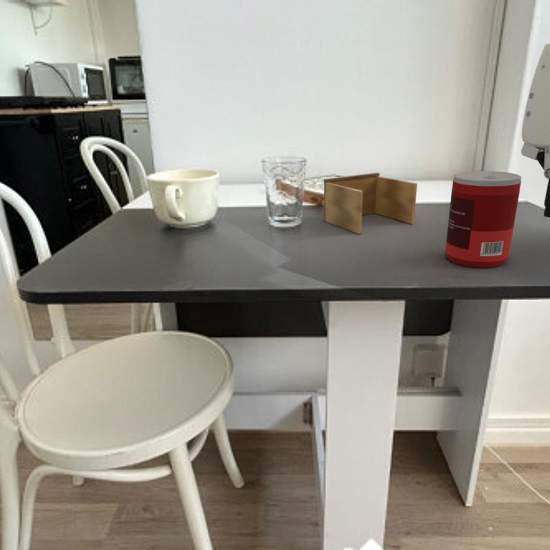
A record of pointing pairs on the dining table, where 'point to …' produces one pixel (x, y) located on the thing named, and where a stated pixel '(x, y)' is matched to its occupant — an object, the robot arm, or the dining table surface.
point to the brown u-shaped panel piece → (367, 199)
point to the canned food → (482, 218)
